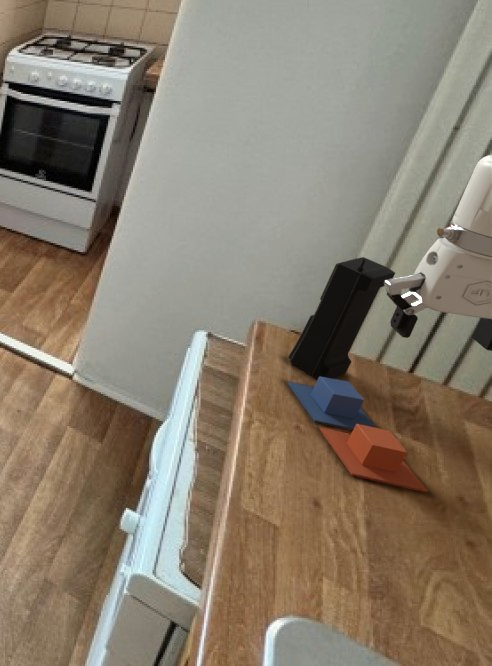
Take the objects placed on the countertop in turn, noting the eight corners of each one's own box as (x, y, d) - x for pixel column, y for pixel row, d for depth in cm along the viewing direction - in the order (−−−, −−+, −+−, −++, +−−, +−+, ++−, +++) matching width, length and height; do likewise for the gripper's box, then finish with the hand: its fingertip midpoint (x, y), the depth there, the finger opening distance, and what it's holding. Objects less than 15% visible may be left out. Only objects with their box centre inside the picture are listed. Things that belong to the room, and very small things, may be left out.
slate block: (339, 400, 104) (348, 381, 102) (354, 419, 100) (364, 399, 99) (310, 394, 105) (319, 376, 103) (324, 412, 101) (333, 393, 100)
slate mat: (348, 396, 105) (349, 394, 105) (381, 436, 97) (382, 434, 97) (287, 383, 108) (288, 381, 108) (314, 421, 100) (315, 420, 100)
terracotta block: (379, 450, 94) (389, 430, 93) (396, 473, 91) (408, 452, 89) (346, 443, 96) (356, 423, 94) (361, 465, 92) (372, 444, 90)
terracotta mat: (387, 443, 96) (388, 442, 96) (427, 493, 88) (428, 491, 88) (319, 429, 99) (320, 427, 98) (351, 475, 91) (352, 473, 90)
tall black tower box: (312, 351, 116) (362, 240, 107) (349, 373, 110) (406, 258, 101) (284, 360, 113) (334, 247, 104) (321, 382, 108) (377, 266, 99)
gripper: (426, 244, 84) (383, 342, 90) (595, 263, 79) (537, 367, 85) (391, 219, 91) (353, 312, 97) (545, 236, 86) (495, 333, 92)
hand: (439, 338), depth 91 cm, fingers open, 9 cm apart
